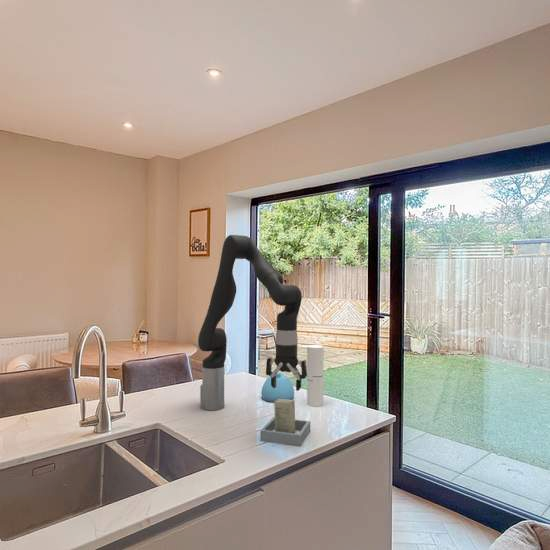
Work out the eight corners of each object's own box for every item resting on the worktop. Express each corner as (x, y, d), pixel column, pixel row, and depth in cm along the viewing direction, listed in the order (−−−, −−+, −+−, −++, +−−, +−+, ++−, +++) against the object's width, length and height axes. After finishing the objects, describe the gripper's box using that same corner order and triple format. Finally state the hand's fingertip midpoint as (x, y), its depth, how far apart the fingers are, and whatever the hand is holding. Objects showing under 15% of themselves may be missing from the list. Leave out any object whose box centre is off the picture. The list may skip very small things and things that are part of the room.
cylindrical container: (322, 406, 175) (322, 348, 175) (306, 405, 176) (306, 347, 176) (324, 401, 182) (324, 345, 182) (308, 400, 183) (308, 344, 183)
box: (260, 440, 139) (260, 430, 139) (273, 426, 152) (273, 416, 152) (300, 446, 134) (300, 435, 134) (310, 430, 148) (310, 421, 148)
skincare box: (295, 434, 144) (295, 399, 144) (291, 439, 140) (291, 403, 140) (278, 432, 147) (278, 397, 147) (274, 436, 143) (274, 401, 143)
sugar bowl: (255, 401, 183) (255, 374, 183) (269, 392, 197) (269, 368, 197) (287, 405, 177) (287, 378, 177) (298, 395, 191) (298, 370, 191)
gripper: (263, 342, 142) (263, 389, 142) (303, 345, 137) (303, 394, 138) (270, 339, 149) (270, 384, 149) (309, 342, 145) (308, 388, 145)
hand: (286, 388), depth 143 cm, fingers open, 8 cm apart
